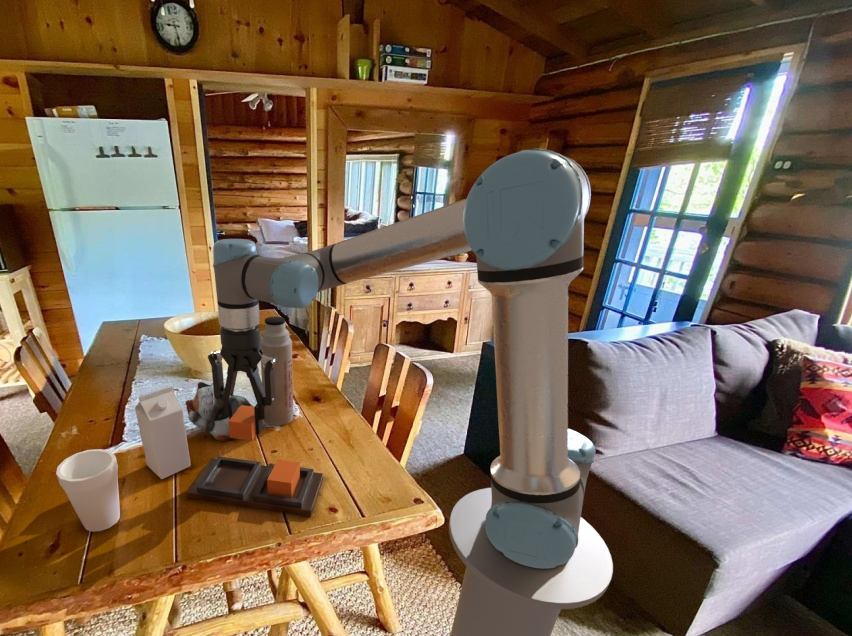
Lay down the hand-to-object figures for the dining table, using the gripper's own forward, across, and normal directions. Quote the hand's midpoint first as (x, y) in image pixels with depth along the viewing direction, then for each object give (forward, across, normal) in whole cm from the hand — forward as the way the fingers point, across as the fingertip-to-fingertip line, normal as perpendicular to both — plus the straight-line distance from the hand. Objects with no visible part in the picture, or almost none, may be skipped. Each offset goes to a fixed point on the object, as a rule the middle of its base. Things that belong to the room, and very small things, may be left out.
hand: (247, 429), depth 94 cm
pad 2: (+9, -10, +5) cm, 14 cm away
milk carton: (+11, +18, +3) cm, 22 cm away
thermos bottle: (+11, +1, -24) cm, 26 cm away
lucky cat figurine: (+11, +13, -14) cm, 22 cm away
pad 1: (0, 0, 0) cm, 0 cm away
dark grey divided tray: (+11, -4, +5) cm, 13 cm away
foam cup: (+11, +22, +21) cm, 32 cm away
